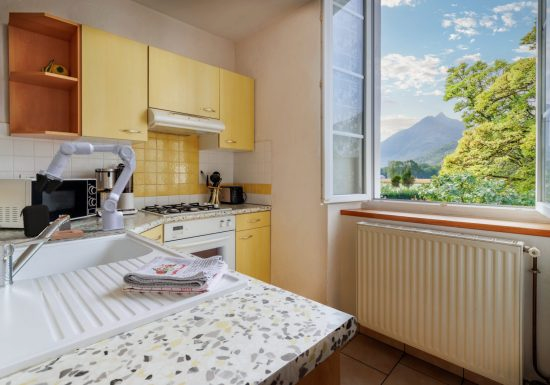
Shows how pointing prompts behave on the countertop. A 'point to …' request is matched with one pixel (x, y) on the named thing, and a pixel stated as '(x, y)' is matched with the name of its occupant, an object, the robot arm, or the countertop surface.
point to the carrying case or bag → (35, 219)
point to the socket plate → (67, 234)
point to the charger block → (65, 226)
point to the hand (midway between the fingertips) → (42, 192)
